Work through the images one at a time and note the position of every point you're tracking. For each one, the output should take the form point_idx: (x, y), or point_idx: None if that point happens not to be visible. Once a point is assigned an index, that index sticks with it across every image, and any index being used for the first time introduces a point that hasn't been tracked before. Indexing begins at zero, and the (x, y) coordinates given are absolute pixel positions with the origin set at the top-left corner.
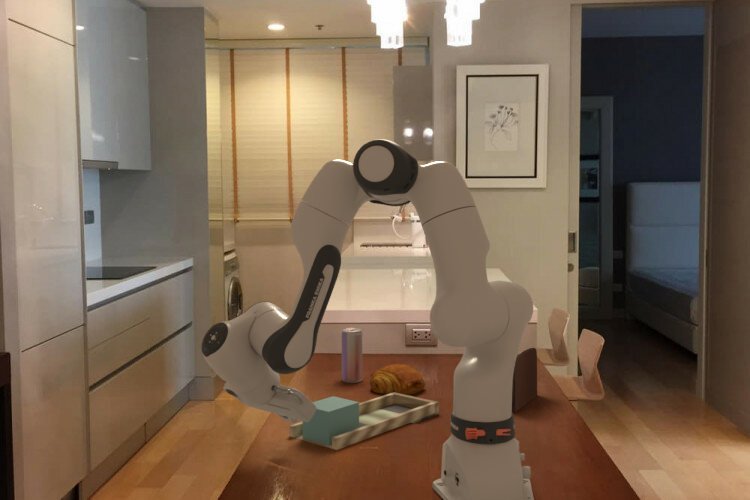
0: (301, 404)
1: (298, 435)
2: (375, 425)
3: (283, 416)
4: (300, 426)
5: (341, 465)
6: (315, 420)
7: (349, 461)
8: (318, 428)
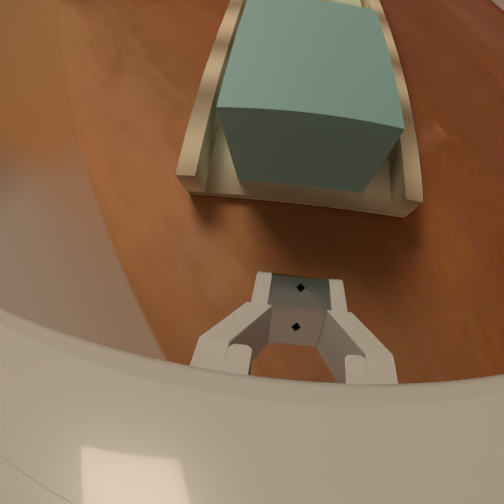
0: (488, 377)
1: (208, 169)
2: (396, 55)
3: (266, 340)
4: (204, 146)
5: (471, 298)
6: (308, 146)
7: (469, 259)
8: (321, 163)
